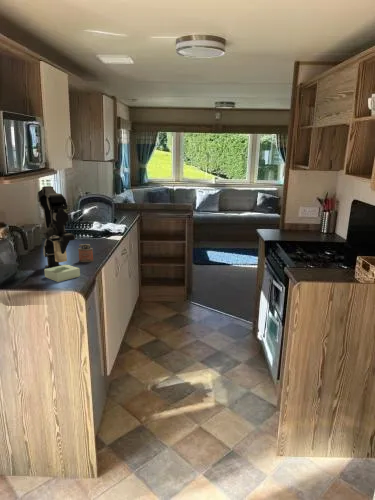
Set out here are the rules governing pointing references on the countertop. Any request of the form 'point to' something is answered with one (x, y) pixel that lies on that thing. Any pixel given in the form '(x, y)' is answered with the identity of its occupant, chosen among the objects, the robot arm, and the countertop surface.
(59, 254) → the peg
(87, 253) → the lighter
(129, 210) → the countertop surface
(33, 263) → the countertop surface
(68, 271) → the well holder
